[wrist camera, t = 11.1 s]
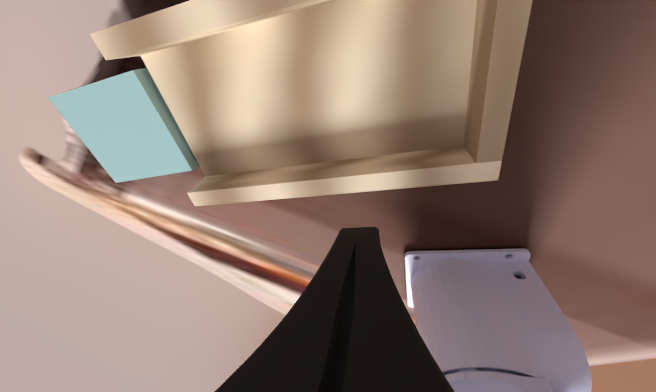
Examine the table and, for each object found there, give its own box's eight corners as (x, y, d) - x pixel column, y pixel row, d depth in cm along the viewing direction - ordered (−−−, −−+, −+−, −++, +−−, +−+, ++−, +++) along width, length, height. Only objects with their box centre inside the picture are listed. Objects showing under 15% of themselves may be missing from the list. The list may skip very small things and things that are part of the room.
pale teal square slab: (156, 65, 17) (132, 70, 15) (207, 159, 20) (192, 170, 19) (76, 91, 19) (47, 97, 17) (134, 171, 22) (115, 182, 21)
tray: (510, -85, 10) (556, -123, 8) (478, 155, 16) (497, 180, 13) (138, 32, 15) (89, 34, 13) (217, 183, 21) (195, 206, 18)
